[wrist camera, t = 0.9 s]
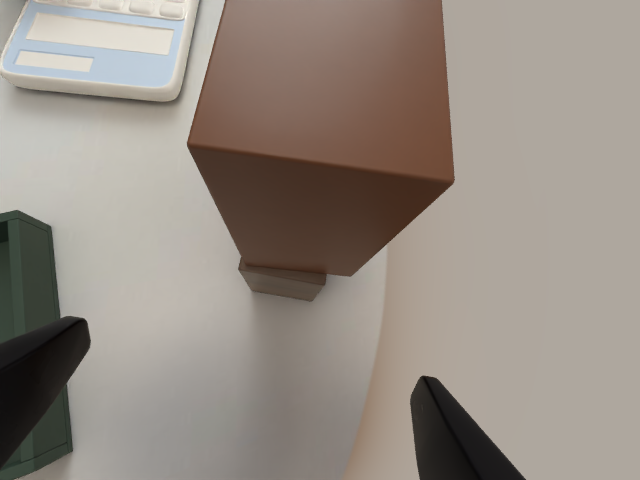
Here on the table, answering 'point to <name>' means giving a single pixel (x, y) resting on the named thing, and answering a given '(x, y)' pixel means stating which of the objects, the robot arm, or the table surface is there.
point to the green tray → (31, 328)
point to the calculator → (101, 47)
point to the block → (283, 281)
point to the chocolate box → (323, 127)
